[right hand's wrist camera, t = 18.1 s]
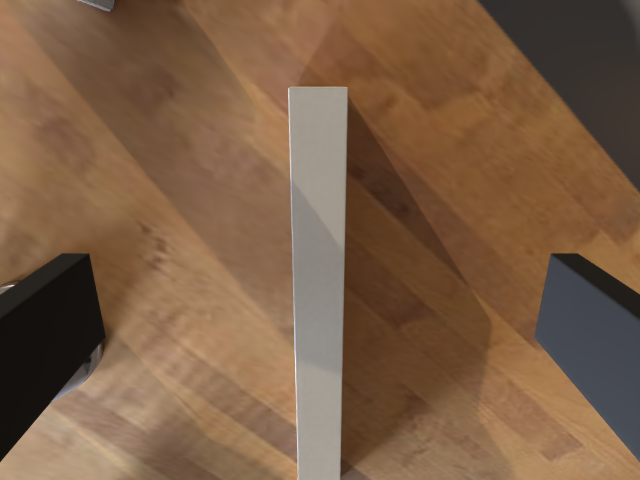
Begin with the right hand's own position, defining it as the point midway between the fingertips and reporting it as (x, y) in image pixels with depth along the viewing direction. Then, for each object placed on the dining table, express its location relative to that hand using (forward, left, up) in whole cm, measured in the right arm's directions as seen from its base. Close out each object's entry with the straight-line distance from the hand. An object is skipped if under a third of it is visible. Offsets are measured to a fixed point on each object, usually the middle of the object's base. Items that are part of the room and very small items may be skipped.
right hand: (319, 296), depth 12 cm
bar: (-11, -18, -35) cm, 41 cm away
